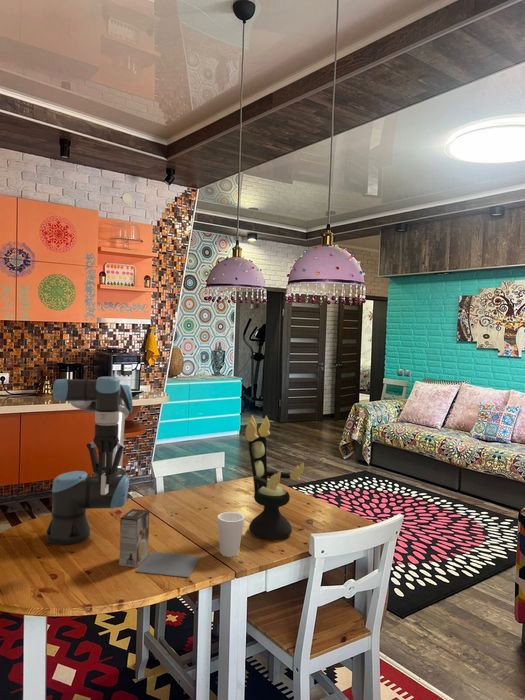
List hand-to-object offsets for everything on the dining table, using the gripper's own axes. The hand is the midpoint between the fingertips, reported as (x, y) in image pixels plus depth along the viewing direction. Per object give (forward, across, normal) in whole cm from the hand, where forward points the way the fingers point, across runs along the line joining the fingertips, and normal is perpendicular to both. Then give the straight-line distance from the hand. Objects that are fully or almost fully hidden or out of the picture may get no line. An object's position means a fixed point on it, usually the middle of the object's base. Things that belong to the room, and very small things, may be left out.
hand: (104, 493), depth 173 cm
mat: (+22, +23, 0) cm, 32 cm away
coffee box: (+22, +11, 0) cm, 25 cm away
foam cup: (+22, +41, +13) cm, 48 cm away
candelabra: (+22, +51, +35) cm, 66 cm away
